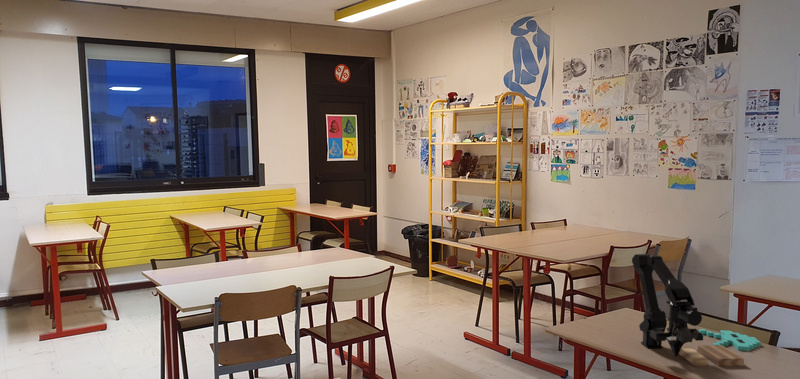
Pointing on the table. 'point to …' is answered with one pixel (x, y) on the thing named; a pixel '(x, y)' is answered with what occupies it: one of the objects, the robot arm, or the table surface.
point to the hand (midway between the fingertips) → (675, 356)
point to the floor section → (720, 355)
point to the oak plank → (693, 357)
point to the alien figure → (733, 339)
